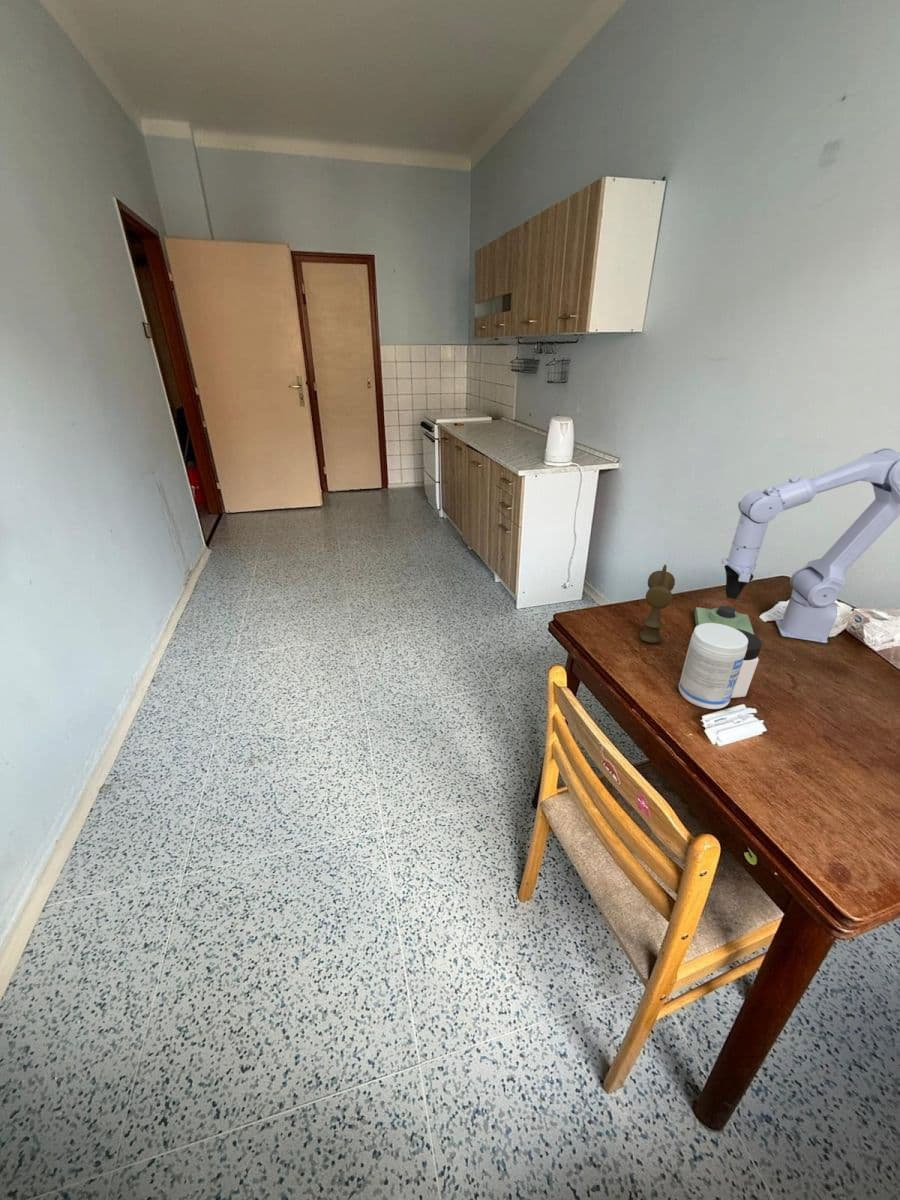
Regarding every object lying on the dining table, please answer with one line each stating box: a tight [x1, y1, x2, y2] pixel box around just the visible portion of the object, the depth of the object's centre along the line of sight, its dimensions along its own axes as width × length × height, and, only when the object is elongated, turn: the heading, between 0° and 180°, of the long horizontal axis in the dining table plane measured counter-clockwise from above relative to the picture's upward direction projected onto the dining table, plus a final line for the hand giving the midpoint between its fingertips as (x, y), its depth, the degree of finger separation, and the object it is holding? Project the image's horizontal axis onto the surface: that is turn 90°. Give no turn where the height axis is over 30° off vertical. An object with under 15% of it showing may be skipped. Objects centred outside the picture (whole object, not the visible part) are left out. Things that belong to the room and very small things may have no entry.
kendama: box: [638, 564, 676, 644], centre depth 111 cm, size 6×10×20 cm, turn 155°
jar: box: [731, 629, 763, 699], centre depth 96 cm, size 9×8×12 cm
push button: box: [717, 605, 736, 618], centre depth 117 cm, size 4×4×2 cm
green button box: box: [694, 606, 755, 635], centre depth 119 cm, size 12×10×4 cm
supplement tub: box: [678, 623, 748, 710], centre depth 93 cm, size 10×10×15 cm
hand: (730, 596), depth 115 cm, fingers closed
